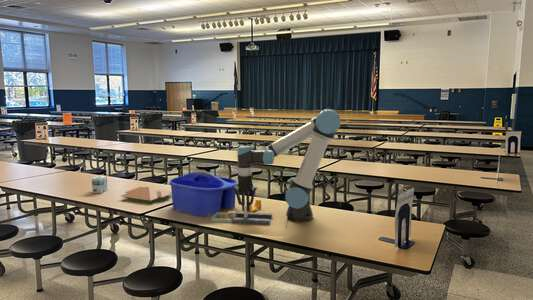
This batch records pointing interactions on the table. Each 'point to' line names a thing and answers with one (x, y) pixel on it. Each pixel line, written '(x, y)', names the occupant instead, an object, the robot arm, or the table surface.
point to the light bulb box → (99, 184)
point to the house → (147, 194)
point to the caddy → (202, 193)
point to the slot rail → (253, 218)
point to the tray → (219, 218)
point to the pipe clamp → (255, 206)
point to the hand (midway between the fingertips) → (245, 216)
